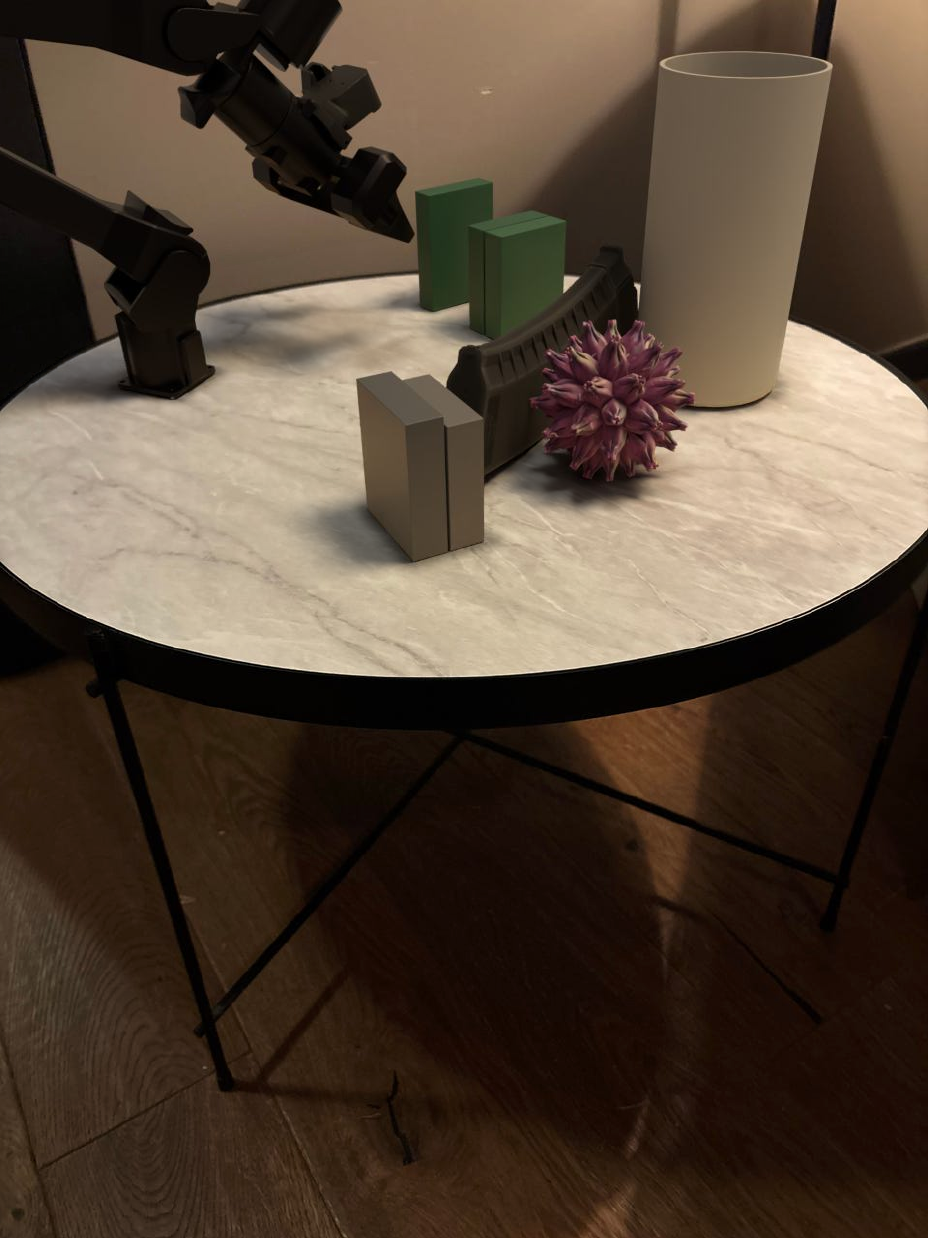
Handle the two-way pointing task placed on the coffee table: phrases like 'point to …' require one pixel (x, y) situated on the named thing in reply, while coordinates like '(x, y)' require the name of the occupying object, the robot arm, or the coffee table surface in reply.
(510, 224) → the green books
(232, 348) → the coffee table surface
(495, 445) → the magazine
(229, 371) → the coffee table surface
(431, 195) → the green book
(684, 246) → the cylinder vase
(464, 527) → the grey books
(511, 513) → the coffee table surface
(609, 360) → the flower
